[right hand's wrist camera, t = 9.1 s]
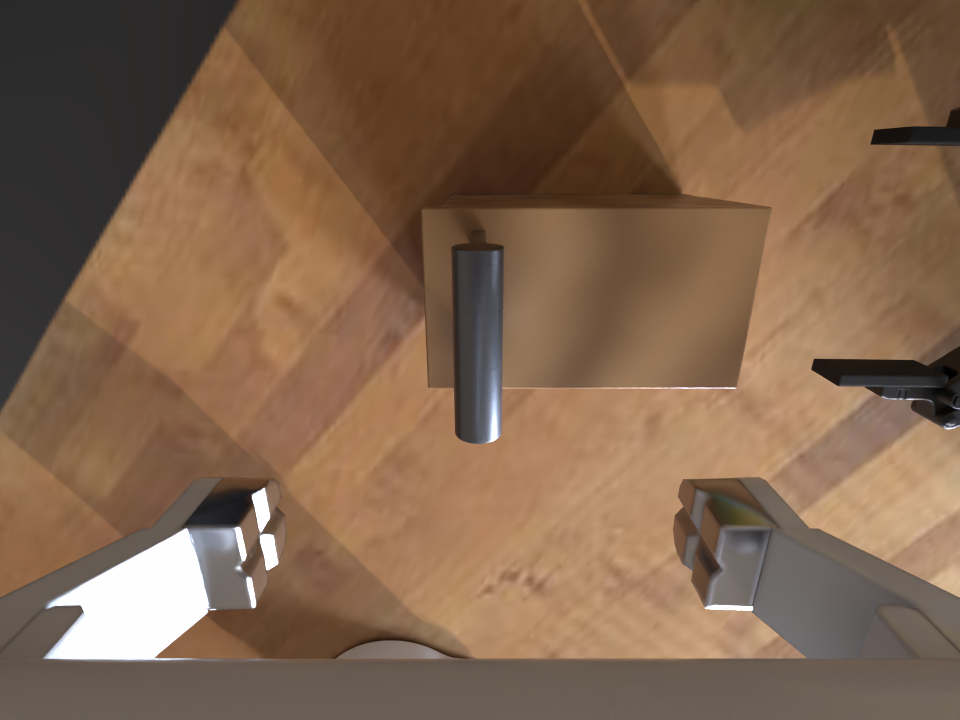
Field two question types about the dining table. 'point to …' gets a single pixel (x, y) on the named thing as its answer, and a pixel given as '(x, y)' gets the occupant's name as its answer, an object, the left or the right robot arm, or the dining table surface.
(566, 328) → the lid
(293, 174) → the dining table surface
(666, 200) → the chest
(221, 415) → the dining table surface
